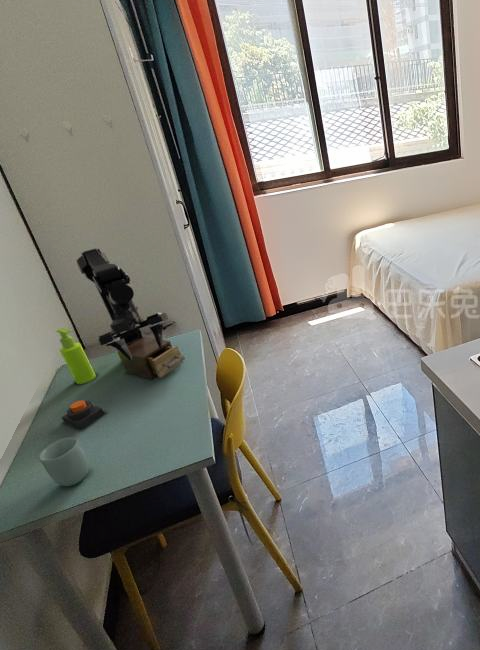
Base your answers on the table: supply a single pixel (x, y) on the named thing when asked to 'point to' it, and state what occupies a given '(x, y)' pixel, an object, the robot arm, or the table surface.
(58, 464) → the cup
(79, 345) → the soap dispenser
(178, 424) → the table surface
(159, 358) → the drawer
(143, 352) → the cabinet
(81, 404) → the button
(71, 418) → the control block
